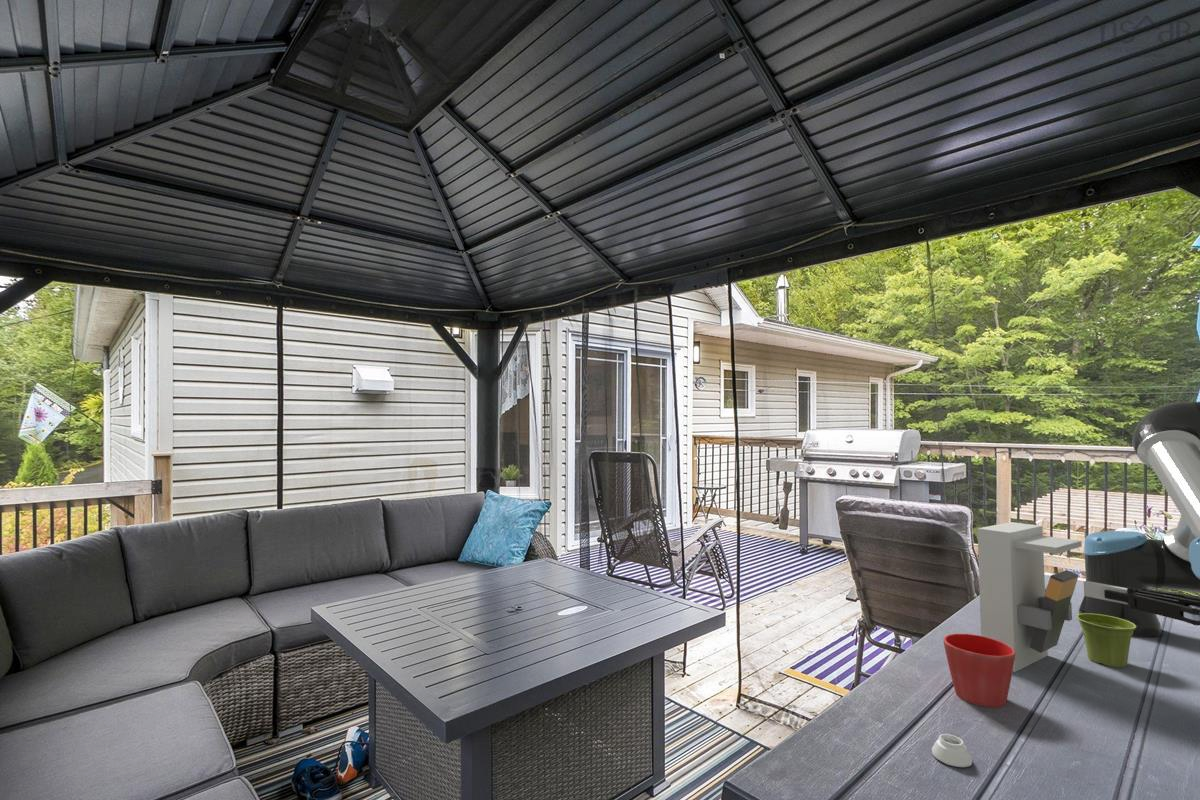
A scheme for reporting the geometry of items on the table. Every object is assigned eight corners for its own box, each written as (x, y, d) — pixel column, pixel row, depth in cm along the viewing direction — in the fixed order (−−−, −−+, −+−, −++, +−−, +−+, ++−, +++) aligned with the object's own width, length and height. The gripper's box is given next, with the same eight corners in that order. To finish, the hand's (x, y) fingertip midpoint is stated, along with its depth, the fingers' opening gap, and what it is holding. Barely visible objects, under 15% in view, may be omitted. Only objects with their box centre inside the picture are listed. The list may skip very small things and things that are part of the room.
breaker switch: (1046, 639, 118) (1067, 569, 115) (1057, 644, 116) (1079, 574, 114) (1028, 647, 113) (1049, 575, 111) (1040, 653, 112) (1062, 580, 109)
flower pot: (996, 718, 94) (994, 660, 95) (932, 691, 104) (931, 638, 104) (1029, 704, 99) (1027, 649, 100) (965, 679, 109) (964, 629, 109)
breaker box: (1015, 646, 126) (1011, 522, 127) (1090, 667, 115) (1083, 530, 116) (982, 661, 117) (977, 528, 119) (1058, 686, 106) (1052, 538, 108)
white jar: (976, 760, 82) (939, 746, 86) (975, 740, 82) (938, 726, 86) (965, 774, 79) (927, 758, 83) (965, 753, 79) (926, 738, 83)
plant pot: (1150, 673, 112) (1148, 629, 112) (1096, 669, 114) (1094, 626, 114) (1117, 655, 121) (1115, 614, 121) (1068, 651, 123) (1066, 611, 123)
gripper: (1264, 656, 86) (1073, 613, 106) (1280, 639, 93) (1098, 602, 112) (1261, 606, 86) (1071, 573, 106) (1277, 593, 93) (1096, 564, 113)
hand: (1085, 588), depth 109 cm, fingers closed
